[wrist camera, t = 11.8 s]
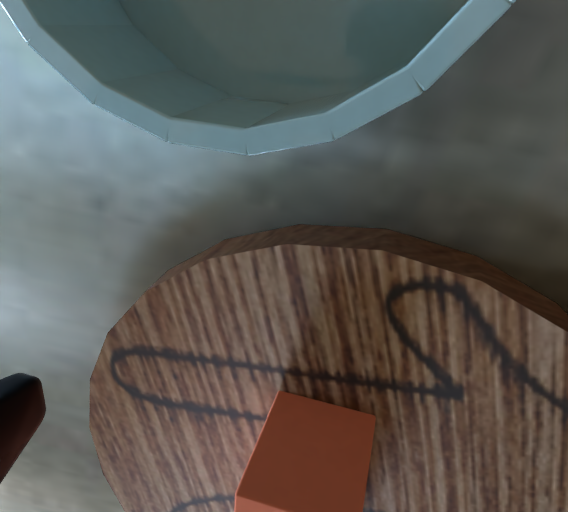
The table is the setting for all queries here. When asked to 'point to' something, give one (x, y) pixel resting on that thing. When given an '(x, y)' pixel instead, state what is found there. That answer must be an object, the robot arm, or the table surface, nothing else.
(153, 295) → the trivet
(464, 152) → the table surface
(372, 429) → the orange rectangular block
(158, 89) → the pot
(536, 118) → the table surface
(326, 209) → the table surface
